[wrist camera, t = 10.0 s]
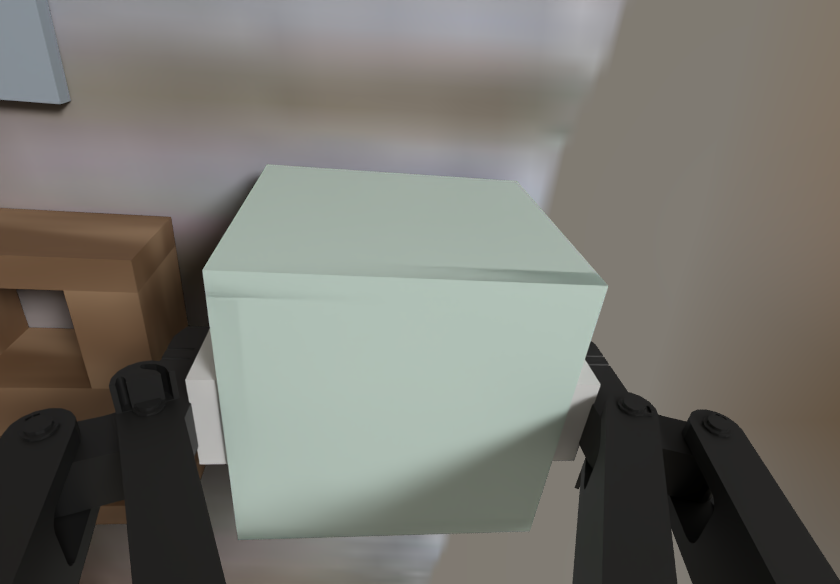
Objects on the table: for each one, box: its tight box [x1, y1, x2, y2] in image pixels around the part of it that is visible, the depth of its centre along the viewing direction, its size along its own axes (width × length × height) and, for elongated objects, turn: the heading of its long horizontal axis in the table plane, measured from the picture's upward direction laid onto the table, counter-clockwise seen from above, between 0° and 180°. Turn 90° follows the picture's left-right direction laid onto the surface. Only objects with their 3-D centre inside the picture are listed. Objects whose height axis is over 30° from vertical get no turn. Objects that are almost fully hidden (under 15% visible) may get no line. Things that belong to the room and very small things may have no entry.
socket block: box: [0, 208, 206, 525], centre depth 19 cm, size 12×8×4 cm, turn 175°
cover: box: [202, 165, 608, 540], centre depth 16 cm, size 8×8×8 cm
